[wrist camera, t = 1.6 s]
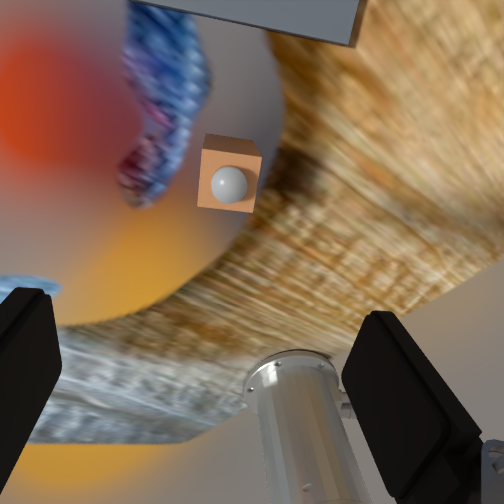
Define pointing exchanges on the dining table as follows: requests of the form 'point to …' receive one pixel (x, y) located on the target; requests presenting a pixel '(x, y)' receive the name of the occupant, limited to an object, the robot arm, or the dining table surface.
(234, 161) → the connector plug
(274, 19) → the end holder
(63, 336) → the dining table surface
